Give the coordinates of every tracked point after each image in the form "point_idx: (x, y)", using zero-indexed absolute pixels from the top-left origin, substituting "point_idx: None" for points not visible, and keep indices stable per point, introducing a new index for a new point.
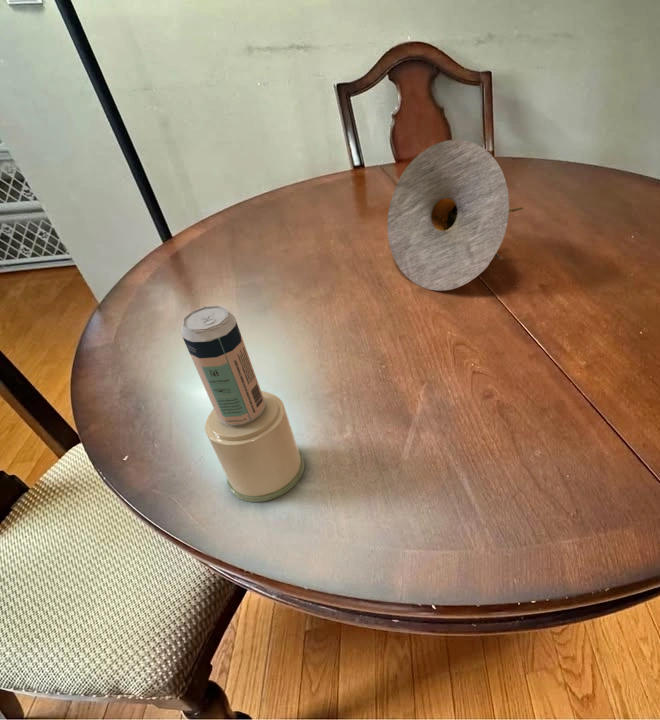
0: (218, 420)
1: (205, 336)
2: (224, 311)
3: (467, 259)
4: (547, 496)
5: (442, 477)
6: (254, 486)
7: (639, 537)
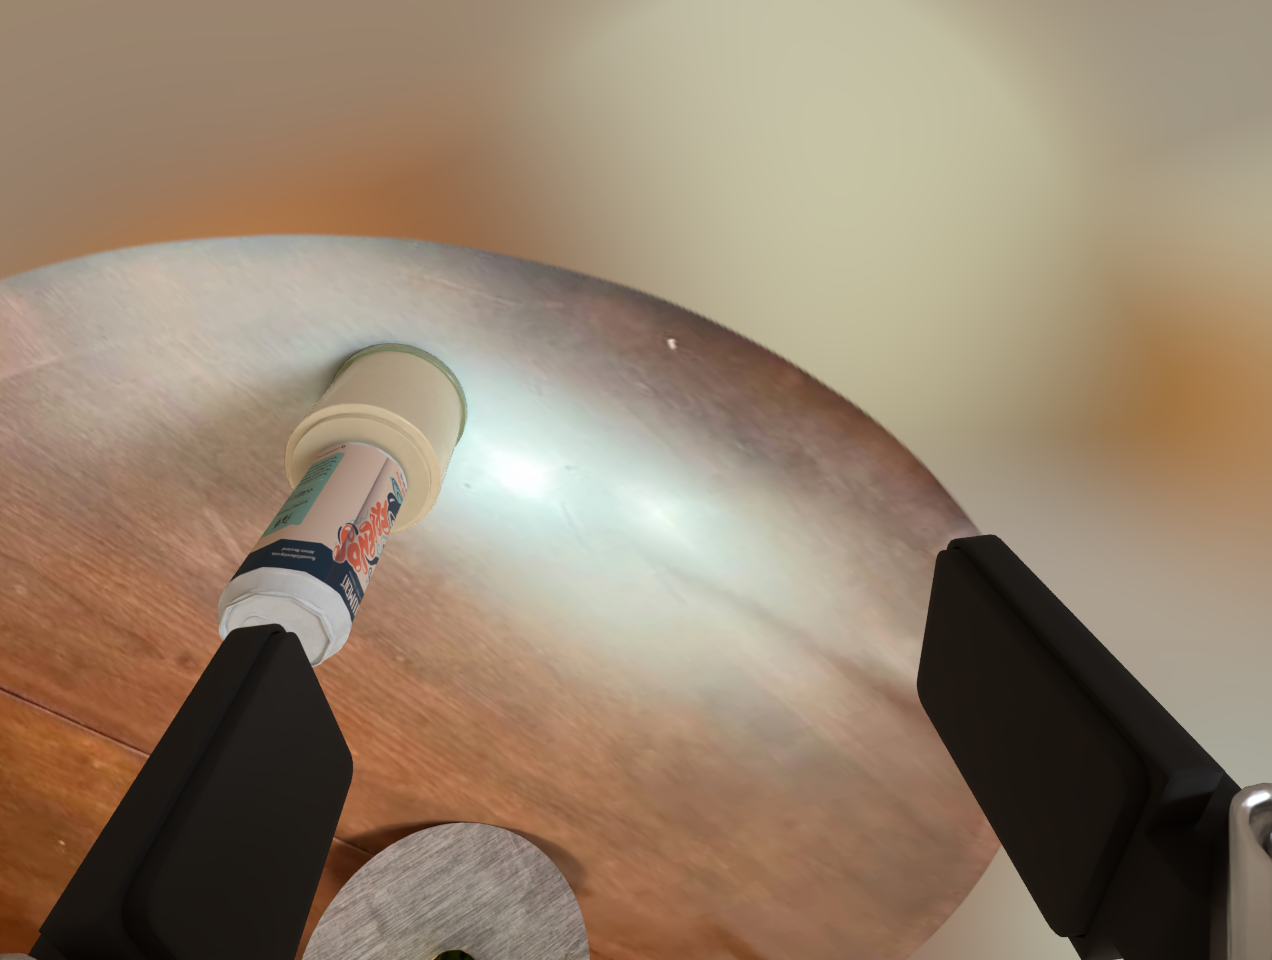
0: (388, 446)
1: (232, 589)
2: None
3: (380, 902)
4: None
5: (119, 498)
6: (350, 367)
7: None
